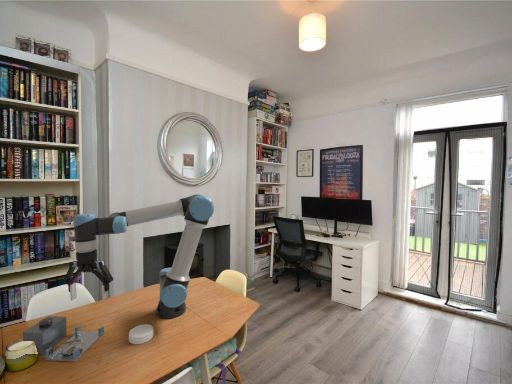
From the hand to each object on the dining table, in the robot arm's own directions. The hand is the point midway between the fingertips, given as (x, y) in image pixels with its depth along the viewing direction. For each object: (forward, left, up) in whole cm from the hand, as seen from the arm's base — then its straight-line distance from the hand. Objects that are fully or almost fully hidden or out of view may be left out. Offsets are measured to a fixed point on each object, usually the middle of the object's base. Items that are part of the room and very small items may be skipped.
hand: (89, 298), depth 109 cm
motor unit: (+9, +3, -19) cm, 21 cm away
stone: (+3, +6, -18) cm, 20 cm away
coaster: (-21, -4, -19) cm, 28 cm away
